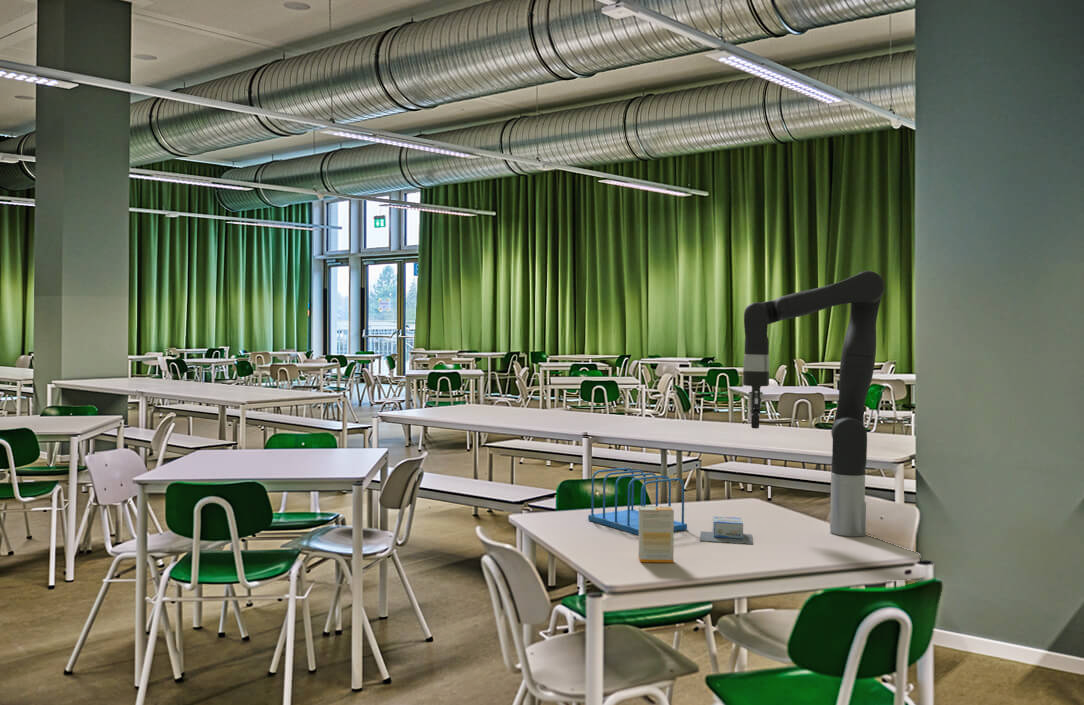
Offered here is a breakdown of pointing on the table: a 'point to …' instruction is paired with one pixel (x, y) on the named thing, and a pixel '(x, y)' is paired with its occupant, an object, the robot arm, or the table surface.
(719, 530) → the medicine box
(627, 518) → the file sorter
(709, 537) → the felt mat
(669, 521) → the supplement box
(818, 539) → the table surface
